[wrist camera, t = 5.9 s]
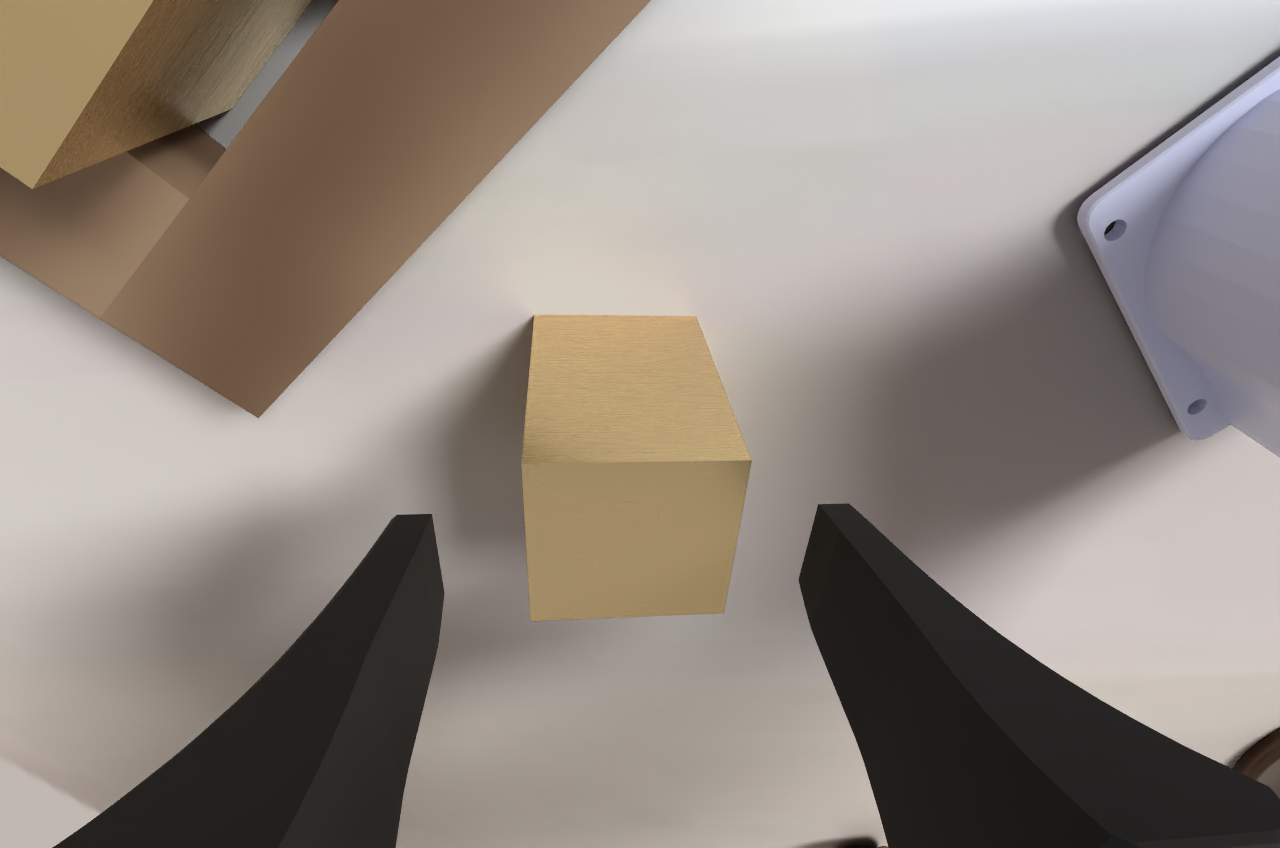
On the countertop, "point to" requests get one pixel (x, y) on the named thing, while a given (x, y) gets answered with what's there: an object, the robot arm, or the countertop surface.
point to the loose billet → (628, 469)
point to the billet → (122, 73)
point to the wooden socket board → (304, 184)
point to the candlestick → (1263, 762)
